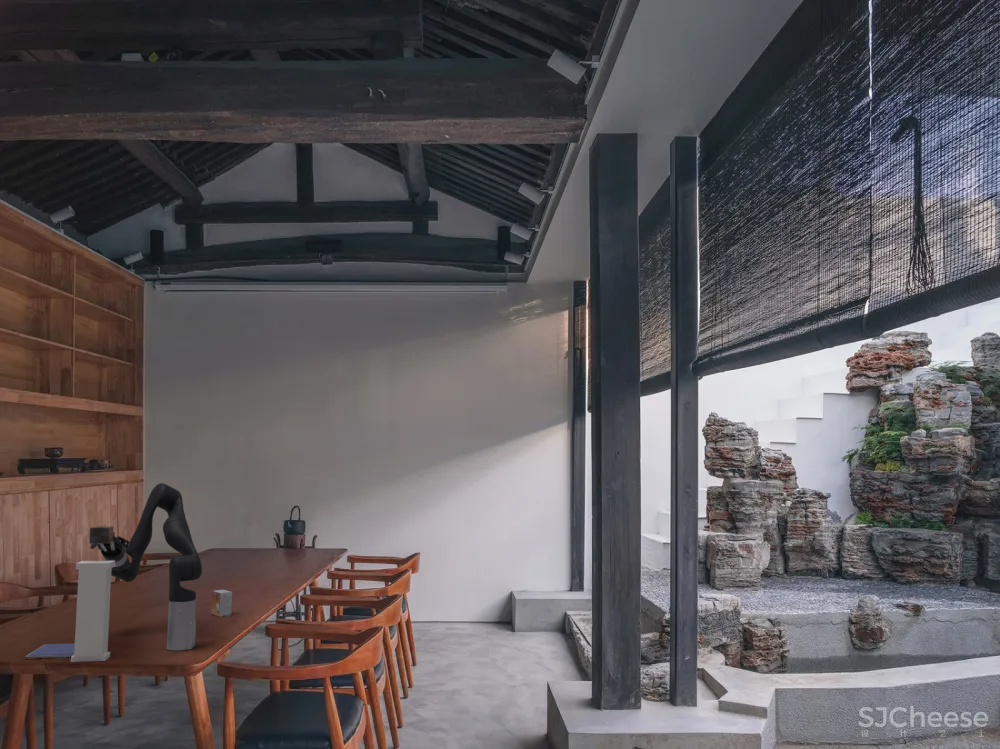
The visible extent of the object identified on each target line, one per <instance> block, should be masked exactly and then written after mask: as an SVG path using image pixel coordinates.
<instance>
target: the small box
mask: <svg viewBox="0 0 1000 749" xmlns="http://www.w3.org/2000/svg"><path fill="white" fill-rule="evenodd" d="M211 593H212V594H211V608H210V609H211V611H210V615H211V614H214V615H217V616H223V615H229V614H231V615H232V605H233V603H232V601H233V600H232V599H233V591H230V590H226V589H217V590H212V592H211ZM214 615H213V616H214ZM217 616H216V617H217Z"/></svg>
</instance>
